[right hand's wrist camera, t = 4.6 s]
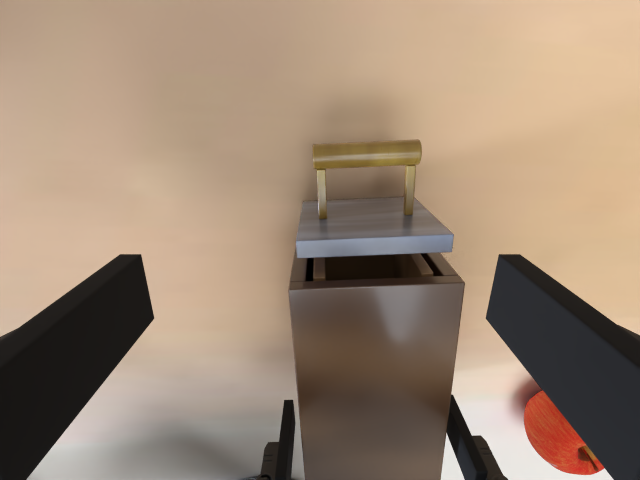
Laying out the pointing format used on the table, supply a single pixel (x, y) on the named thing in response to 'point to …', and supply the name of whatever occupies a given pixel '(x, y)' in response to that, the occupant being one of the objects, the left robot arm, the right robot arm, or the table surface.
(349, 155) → the drawer
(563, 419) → the apple
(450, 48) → the table surface
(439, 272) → the cabinet
